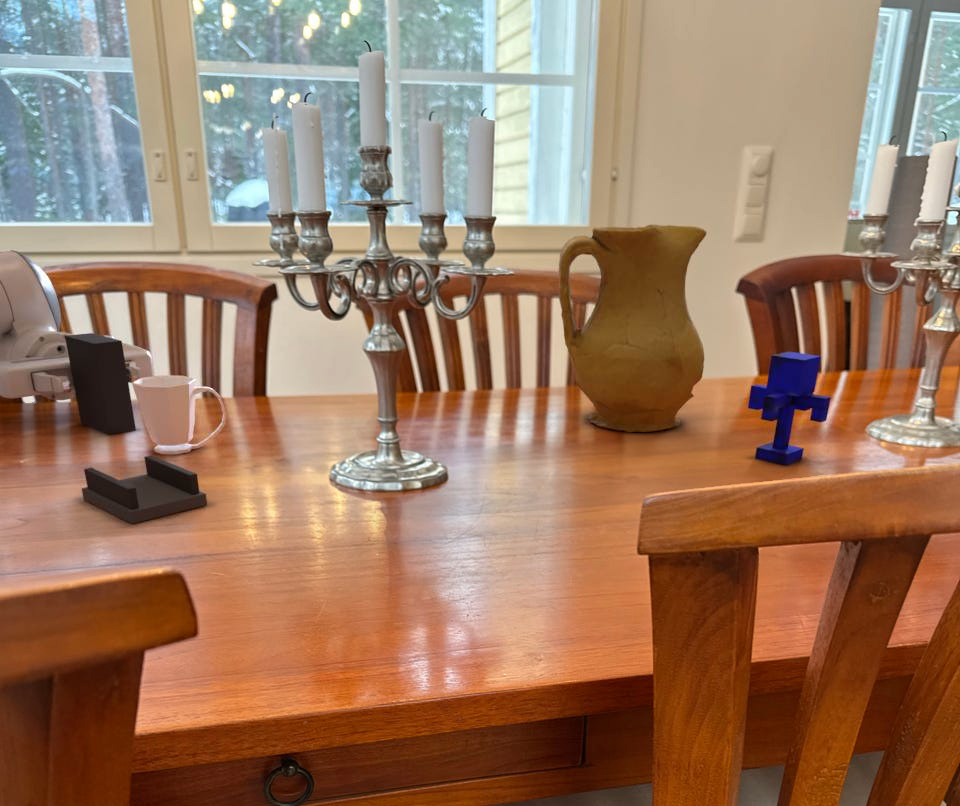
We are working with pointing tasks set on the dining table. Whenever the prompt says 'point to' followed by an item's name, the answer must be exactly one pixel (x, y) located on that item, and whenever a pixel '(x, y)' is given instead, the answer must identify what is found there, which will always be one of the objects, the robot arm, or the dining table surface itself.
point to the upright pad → (101, 382)
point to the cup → (171, 411)
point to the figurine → (788, 402)
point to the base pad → (145, 491)
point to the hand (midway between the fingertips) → (101, 380)
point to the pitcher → (635, 326)
